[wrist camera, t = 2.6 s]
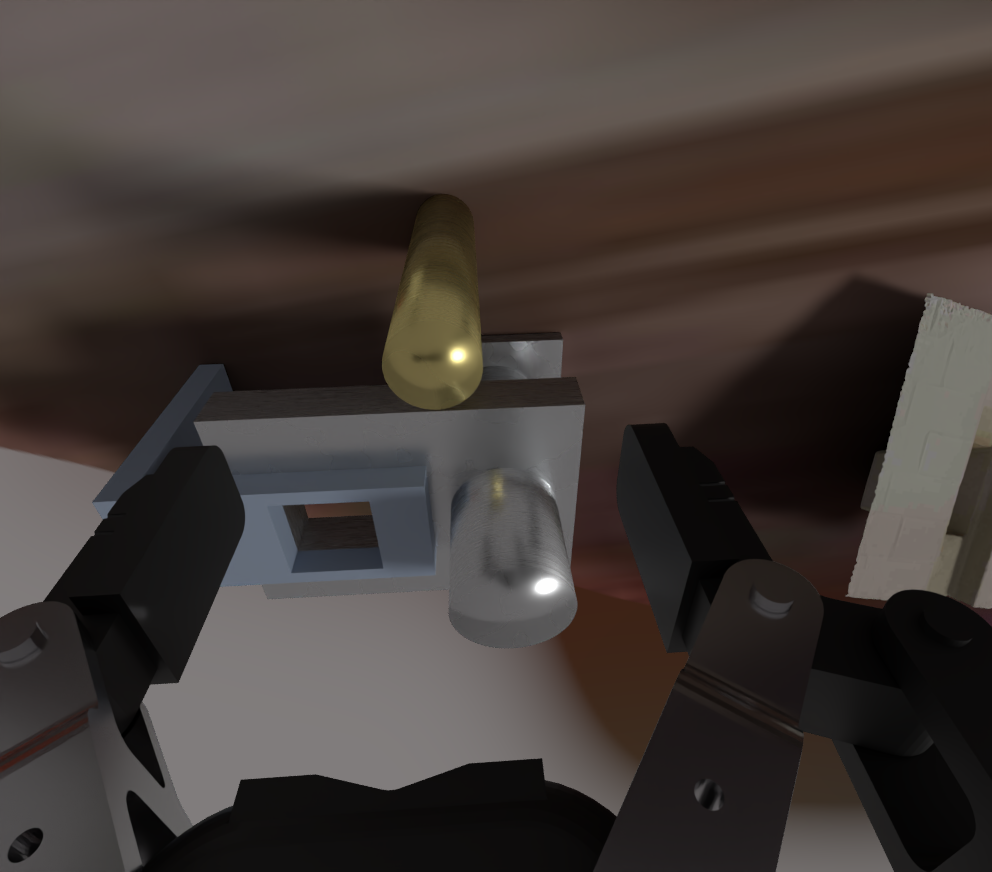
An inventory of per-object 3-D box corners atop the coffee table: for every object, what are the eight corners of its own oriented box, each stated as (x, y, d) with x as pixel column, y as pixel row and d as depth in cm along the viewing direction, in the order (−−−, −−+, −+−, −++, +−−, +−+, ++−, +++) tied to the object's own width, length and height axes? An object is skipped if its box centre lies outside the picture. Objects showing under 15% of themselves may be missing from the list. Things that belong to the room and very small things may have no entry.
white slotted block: (770, 329, 33) (752, 581, 32) (929, 285, 25) (914, 622, 24) (942, 378, 39) (934, 593, 38) (1116, 356, 31) (1114, 629, 30)
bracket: (199, 364, 28) (91, 502, 20) (434, 355, 29) (424, 486, 20) (229, 442, 31) (146, 590, 23) (442, 433, 32) (435, 575, 23)
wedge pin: (412, 195, 24) (375, 323, 13) (472, 193, 24) (481, 319, 14) (418, 255, 25) (389, 411, 15) (475, 253, 26) (484, 407, 15)
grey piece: (265, 316, 27) (124, 523, 16) (562, 304, 27) (633, 498, 16) (310, 473, 33) (231, 705, 22) (553, 462, 33) (601, 683, 22)
